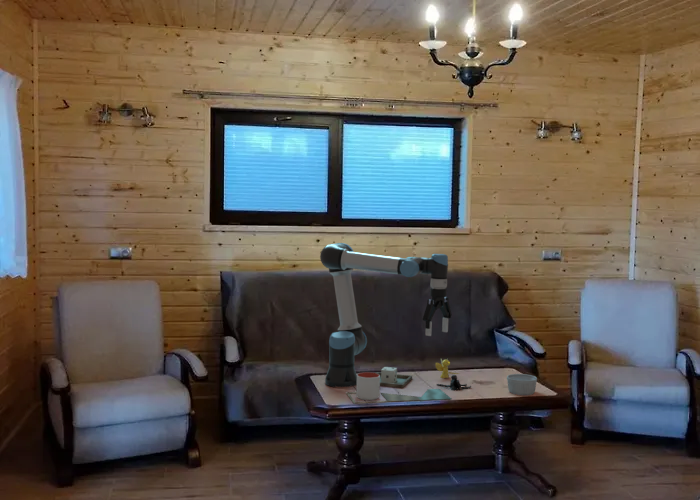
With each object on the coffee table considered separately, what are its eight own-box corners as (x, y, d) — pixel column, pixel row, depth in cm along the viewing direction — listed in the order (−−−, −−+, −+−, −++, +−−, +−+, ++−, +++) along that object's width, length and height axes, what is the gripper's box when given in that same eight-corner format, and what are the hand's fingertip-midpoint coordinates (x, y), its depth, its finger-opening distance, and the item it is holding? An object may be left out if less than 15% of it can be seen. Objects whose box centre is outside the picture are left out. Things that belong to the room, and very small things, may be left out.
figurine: (459, 381, 337) (460, 363, 336) (434, 379, 341) (435, 361, 341) (464, 376, 348) (465, 358, 348) (440, 373, 352) (440, 356, 352)
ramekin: (500, 390, 324) (500, 374, 323) (524, 387, 329) (524, 372, 329) (518, 397, 312) (518, 381, 311) (542, 394, 317) (543, 379, 316)
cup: (354, 400, 304) (355, 377, 303) (358, 394, 314) (358, 371, 313) (378, 401, 302) (378, 378, 301) (380, 395, 312) (381, 372, 311)
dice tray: (364, 385, 328) (364, 381, 328) (375, 376, 345) (376, 372, 345) (402, 389, 322) (402, 384, 322) (412, 379, 339) (412, 375, 339)
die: (380, 382, 332) (381, 369, 331) (384, 379, 338) (384, 366, 337) (393, 383, 330) (393, 370, 329) (396, 380, 336) (397, 367, 335)
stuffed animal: (473, 388, 322) (452, 374, 320) (461, 406, 322) (440, 391, 320) (466, 381, 334) (446, 367, 332) (454, 398, 334) (434, 384, 332)
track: (353, 403, 298) (353, 402, 298) (346, 393, 314) (346, 392, 314) (451, 399, 307) (451, 398, 307) (439, 389, 323) (439, 388, 323)
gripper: (429, 291, 314) (428, 338, 316) (460, 286, 333) (458, 331, 335) (416, 289, 319) (414, 336, 321) (446, 284, 338) (444, 329, 339)
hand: (436, 333), depth 328 cm, fingers open, 13 cm apart
